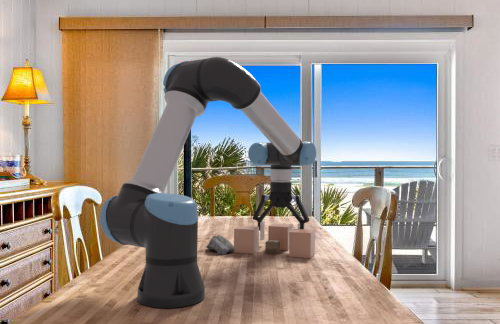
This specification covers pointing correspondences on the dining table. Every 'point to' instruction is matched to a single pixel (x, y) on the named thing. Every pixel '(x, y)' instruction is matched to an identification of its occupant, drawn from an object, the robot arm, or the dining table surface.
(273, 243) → the letter cube
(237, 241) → the peach colored cube
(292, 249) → the salmon pink box
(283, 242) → the cover mid
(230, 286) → the dining table surface
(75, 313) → the dining table surface
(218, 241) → the fossilized seashell
